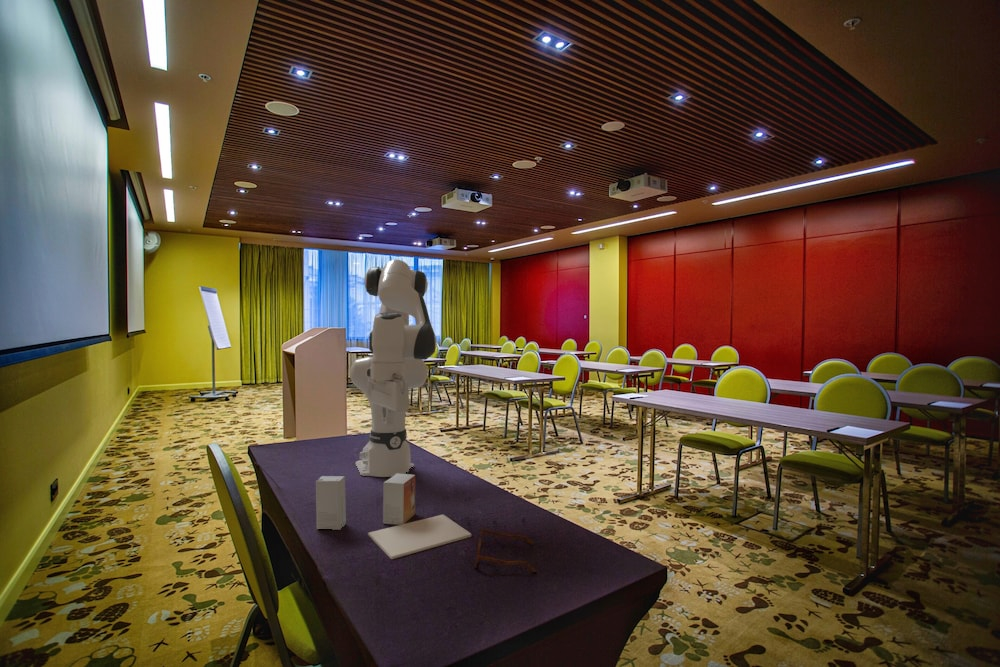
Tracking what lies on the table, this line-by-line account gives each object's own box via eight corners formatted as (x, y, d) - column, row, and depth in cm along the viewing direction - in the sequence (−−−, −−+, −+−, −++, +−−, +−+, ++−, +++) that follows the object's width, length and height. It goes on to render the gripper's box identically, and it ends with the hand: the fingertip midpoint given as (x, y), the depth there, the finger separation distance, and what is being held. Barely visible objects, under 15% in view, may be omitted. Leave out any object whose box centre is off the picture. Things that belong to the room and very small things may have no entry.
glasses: (478, 544, 110) (478, 522, 109) (535, 545, 109) (535, 524, 109) (473, 574, 96) (473, 549, 96) (537, 575, 96) (538, 551, 96)
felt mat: (368, 535, 112) (368, 532, 112) (443, 516, 124) (443, 514, 124) (391, 559, 101) (391, 556, 101) (471, 536, 112) (471, 534, 112)
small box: (403, 526, 118) (403, 484, 117) (382, 524, 119) (382, 482, 119) (415, 513, 125) (416, 474, 125) (395, 511, 127) (396, 472, 127)
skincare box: (346, 523, 119) (346, 475, 119) (340, 531, 114) (340, 481, 114) (321, 523, 119) (322, 474, 119) (314, 530, 114) (315, 480, 114)
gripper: (415, 375, 122) (414, 429, 122) (385, 368, 139) (384, 416, 139) (392, 376, 118) (391, 432, 118) (363, 369, 135) (363, 418, 135)
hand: (387, 423), depth 129 cm, fingers closed
